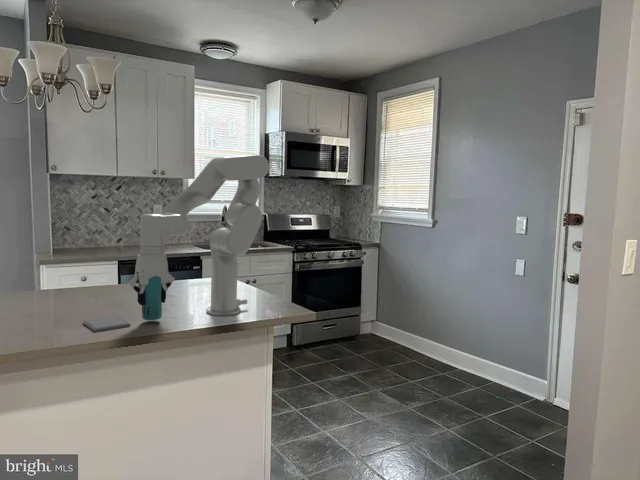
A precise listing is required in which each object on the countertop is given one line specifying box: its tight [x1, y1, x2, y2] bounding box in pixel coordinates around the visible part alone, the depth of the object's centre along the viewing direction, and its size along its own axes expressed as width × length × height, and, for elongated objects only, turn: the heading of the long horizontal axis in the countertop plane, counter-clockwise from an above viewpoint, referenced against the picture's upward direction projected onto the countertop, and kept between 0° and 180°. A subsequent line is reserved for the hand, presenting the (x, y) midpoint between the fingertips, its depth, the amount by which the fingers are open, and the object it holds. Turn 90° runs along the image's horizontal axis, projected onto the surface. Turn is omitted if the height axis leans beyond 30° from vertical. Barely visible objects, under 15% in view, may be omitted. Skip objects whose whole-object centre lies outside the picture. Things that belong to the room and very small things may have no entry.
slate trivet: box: [82, 315, 131, 333], centre depth 153 cm, size 11×11×1 cm
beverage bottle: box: [141, 276, 163, 321], centre depth 158 cm, size 6×7×20 cm
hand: (152, 302), depth 158 cm, fingers closed on beverage bottle, 6 cm apart
